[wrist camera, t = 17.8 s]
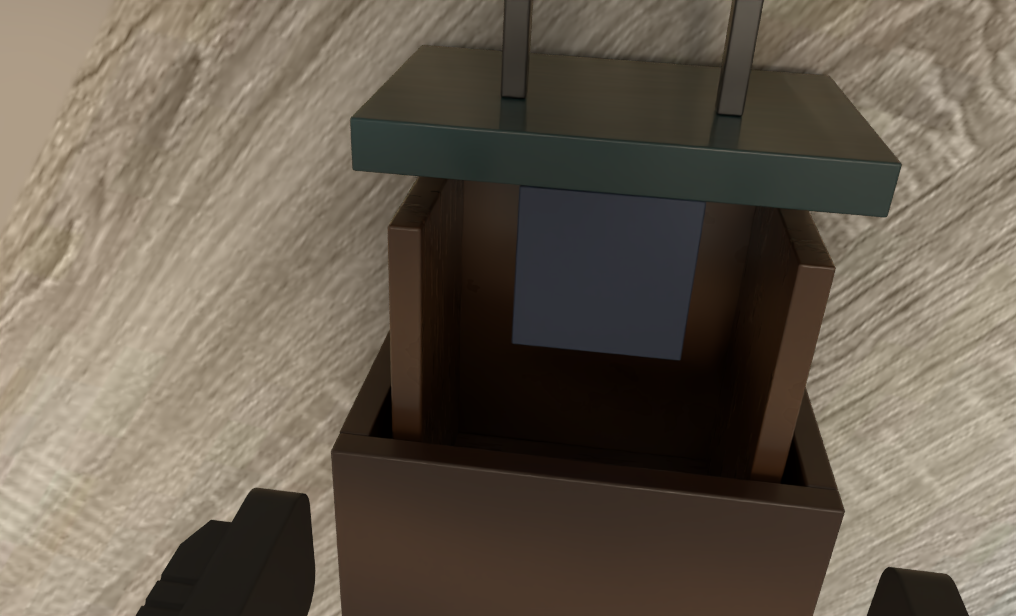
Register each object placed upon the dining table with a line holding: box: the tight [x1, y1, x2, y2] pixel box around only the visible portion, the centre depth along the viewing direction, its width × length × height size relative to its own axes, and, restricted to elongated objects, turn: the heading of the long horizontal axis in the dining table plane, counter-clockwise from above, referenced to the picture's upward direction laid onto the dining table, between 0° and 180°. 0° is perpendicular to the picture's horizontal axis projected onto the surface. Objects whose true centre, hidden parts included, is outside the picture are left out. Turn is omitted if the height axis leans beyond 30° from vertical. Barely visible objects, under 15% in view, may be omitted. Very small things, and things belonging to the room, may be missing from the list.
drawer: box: [350, 0, 902, 484], centre depth 23 cm, size 19×11×7 cm, turn 177°
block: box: [511, 185, 706, 360], centre depth 23 cm, size 4×4×4 cm
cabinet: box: [331, 330, 845, 616], centre depth 29 cm, size 15×13×9 cm
